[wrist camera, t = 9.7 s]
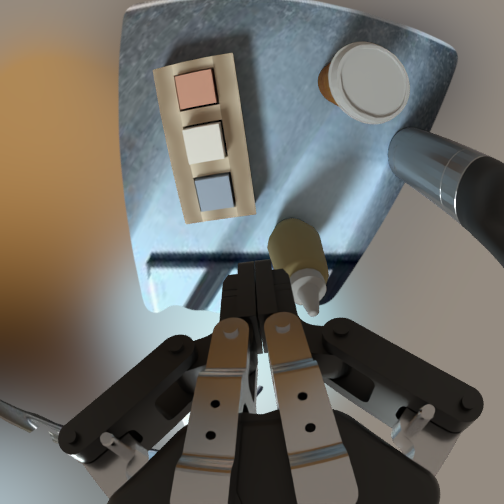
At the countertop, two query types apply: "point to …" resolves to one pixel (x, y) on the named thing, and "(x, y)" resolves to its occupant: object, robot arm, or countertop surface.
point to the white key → (204, 142)
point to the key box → (182, 118)
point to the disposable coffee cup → (366, 82)
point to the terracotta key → (196, 89)
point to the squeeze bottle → (300, 261)
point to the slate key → (215, 191)
